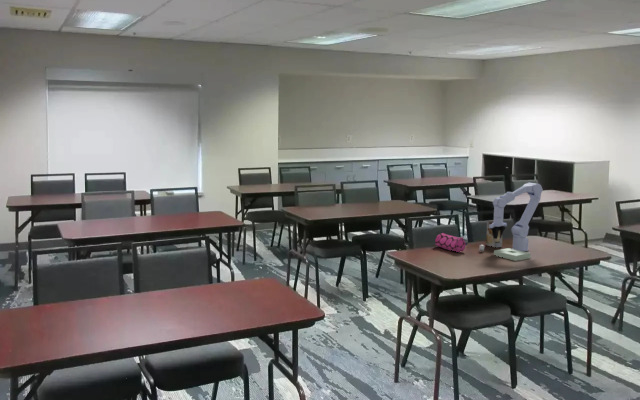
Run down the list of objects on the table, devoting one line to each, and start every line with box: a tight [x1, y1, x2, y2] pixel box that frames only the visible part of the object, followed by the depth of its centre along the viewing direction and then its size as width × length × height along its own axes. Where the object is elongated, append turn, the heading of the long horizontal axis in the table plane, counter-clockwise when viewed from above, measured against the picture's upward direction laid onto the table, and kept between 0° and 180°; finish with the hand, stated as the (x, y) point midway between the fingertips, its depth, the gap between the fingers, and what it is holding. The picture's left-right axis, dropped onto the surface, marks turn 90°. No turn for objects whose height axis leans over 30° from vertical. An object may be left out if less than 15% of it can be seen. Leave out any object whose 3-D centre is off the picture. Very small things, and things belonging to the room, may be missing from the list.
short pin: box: [478, 244, 486, 252], centre depth 356 cm, size 3×3×4 cm
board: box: [493, 247, 532, 261], centre depth 343 cm, size 14×16×3 cm
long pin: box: [495, 230, 500, 242], centre depth 355 cm, size 3×3×7 cm
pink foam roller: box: [434, 232, 468, 253], centre depth 360 cm, size 21×10×10 cm, turn 31°
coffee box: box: [485, 220, 504, 248], centre depth 372 cm, size 9×6×16 cm
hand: (497, 238), depth 355 cm, fingers closed on long pin, 3 cm apart
